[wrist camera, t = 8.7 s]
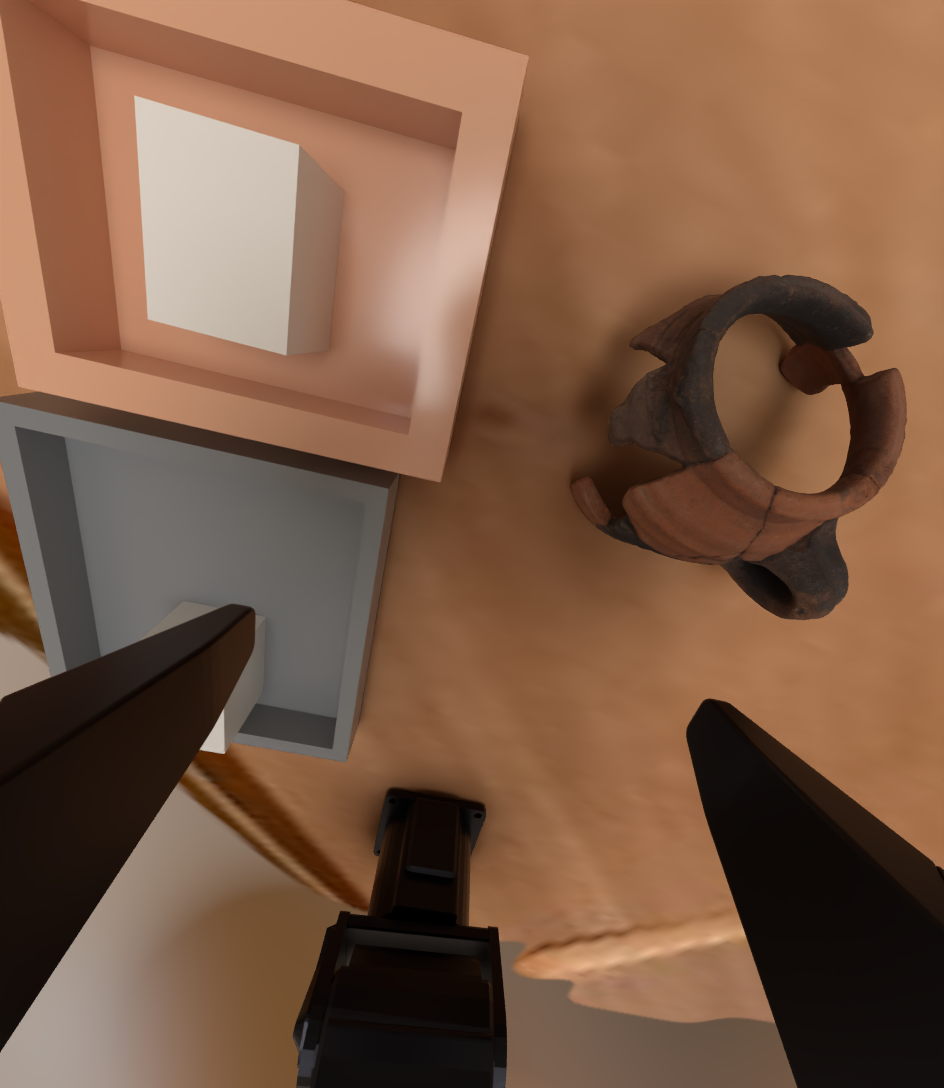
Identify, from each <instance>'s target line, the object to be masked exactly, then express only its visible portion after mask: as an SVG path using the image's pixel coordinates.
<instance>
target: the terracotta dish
mask: <svg viewBox="0 0 944 1088" xmlns="http://www.w3.org/2000/svg"><path fill="white" fill-rule="evenodd" d="M528 58H529V56H527V55H523V54H520V53H517V52H514V51H510V50H507V49H504V48H501V47H497V46H494V45H491V44H488V43H484V42H481V41H478V40H474V39H471V38H468V37H465V36H461V35H458V34H455V33H452V32H448V31H445V30H442V29H438V28H435V27H432V26H429V25H425V24H422V23H419V22H416V21H412V20H409V19H406V18H402V17H399V16H396V15H393V14H389V13H386V12H383V11H380V10H376V9H373V8H370V7H366V6H363V5H360V4H357V3H353V2H350V1H347V0H0V298H1V303H2V308H3V313H4V318H5V323H6V328H7V333H8V338H9V343H10V348H11V353H12V358H13V363H14V368H15V373H16V378H17V383H18V387H22V388H26V389H31V390H35V391H40V392H44V393H48V394H53V395H57V396H61V397H66V398H70V399H75V400H79V401H83V402H88V403H92V404H97V405H101V406H105V407H110V408H114V409H119V410H123V411H127V412H132V413H136V414H141V415H145V416H149V417H154V418H158V419H163V420H167V421H171V422H176V423H180V424H185V425H189V426H193V427H198V428H202V429H207V430H211V431H215V432H220V433H224V434H229V435H233V436H237V437H242V438H246V439H251V440H255V441H259V442H264V443H268V444H273V445H277V446H281V447H286V448H290V449H295V450H299V451H303V452H308V453H312V454H317V455H321V456H325V457H330V458H334V459H339V460H343V461H347V462H352V463H356V464H361V465H365V466H369V467H374V468H378V469H383V470H387V471H391V472H396V473H400V474H405V475H409V476H413V477H418V478H422V479H427V480H431V481H435V482H441V479H442V476H443V472H444V469H445V465H446V462H447V458H448V454H449V449H450V444H451V439H452V434H453V430H454V425H455V420H456V415H457V411H458V406H459V401H460V396H461V391H462V387H463V382H464V377H465V372H466V368H467V363H468V358H469V353H470V348H471V344H472V339H473V334H474V329H475V325H476V320H477V315H478V310H479V305H480V301H481V296H482V291H483V286H484V282H485V277H486V272H487V267H488V262H489V258H490V253H491V248H492V243H493V238H494V234H495V229H496V224H497V219H498V215H499V210H500V205H501V200H502V195H503V191H504V186H505V181H506V176H507V172H508V167H509V162H510V157H511V152H512V148H513V143H514V138H515V133H516V129H517V124H518V119H519V113H520V107H521V101H522V95H523V89H524V83H525V76H526V70H527V64H528ZM134 95H135V96H138V97H141V98H145V99H148V100H151V101H155V102H158V103H161V104H165V105H168V106H171V107H175V108H178V109H181V110H185V111H188V112H191V113H195V114H198V115H201V116H205V117H208V118H211V119H215V120H218V121H221V122H225V123H228V124H231V125H235V126H238V127H241V128H245V129H248V130H251V131H255V132H258V133H261V134H265V135H268V136H271V137H275V138H278V139H281V140H285V141H288V142H291V143H295V144H298V145H300V146H301V147H302V148H303V149H304V150H305V151H306V152H307V153H308V154H309V155H310V156H311V157H312V158H313V159H314V161H315V162H316V163H317V164H318V165H319V166H320V167H321V168H322V169H323V170H324V171H325V172H326V173H327V174H328V175H329V176H330V177H331V178H332V179H333V180H334V181H335V182H336V183H337V184H338V185H339V186H340V187H341V188H342V189H343V190H344V191H345V192H344V202H343V212H342V222H341V232H340V242H339V252H338V262H337V273H336V283H335V293H334V303H333V313H332V323H331V333H330V343H329V351H323V352H314V353H305V354H295V355H283V354H279V353H275V352H271V351H267V350H263V349H260V348H256V347H252V346H248V345H244V344H240V343H237V342H233V341H229V340H225V339H221V338H217V337H214V336H210V335H206V334H202V333H198V332H194V331H191V330H187V329H183V328H179V327H175V326H171V325H168V324H164V323H160V322H156V321H152V320H148V314H147V298H146V281H145V265H144V248H143V232H142V215H141V199H140V183H139V166H138V150H137V133H136V117H135V100H134Z"/></svg>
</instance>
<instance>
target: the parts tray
mask: <svg viewBox="0 0 944 1088" xmlns="http://www.w3.org/2000/svg"><path fill="white" fill-rule="evenodd" d="M0 460H1V464H2V468H3V473H4V477H5V481H6V486H7V490H8V494H9V499H10V503H11V507H12V511H13V516H14V520H15V524H16V529H17V533H18V537H19V541H20V546H21V550H22V554H23V559H24V563H25V567H26V572H27V576H28V580H29V584H30V589H31V593H32V597H33V602H34V606H35V610H36V615H37V619H38V623H39V627H40V632H41V636H42V640H43V645H44V649H45V653H46V657H47V662H48V666H49V670H50V675H51V677H53V676H55V675H58V674H60V673H63V672H65V671H68V670H70V669H72V668H75V667H77V666H80V665H82V664H85V663H87V662H89V661H92V660H94V659H97V658H99V657H102V656H104V655H106V654H109V653H111V652H114V651H116V650H119V649H121V648H123V647H126V646H128V645H131V644H133V643H136V642H138V641H139V640H140V639H141V638H143V637H144V636H145V635H146V634H147V633H148V632H149V631H150V630H152V629H153V628H154V627H155V626H156V625H157V624H158V623H159V622H161V621H162V620H163V619H164V618H165V617H166V616H167V615H168V614H170V613H171V612H172V611H173V610H174V609H175V608H176V607H177V606H179V605H180V604H181V603H182V602H183V601H187V602H192V603H197V604H202V605H207V606H212V607H217V608H221V607H223V606H226V605H228V604H232V603H234V604H240V605H245V606H250V607H252V608H253V609H254V610H255V613H256V615H258V616H263V617H266V626H265V655H264V683H263V692H262V694H261V696H260V697H259V699H258V701H257V702H256V704H255V705H254V707H253V709H252V710H251V712H250V714H249V715H248V717H247V718H246V720H245V722H244V723H243V725H242V727H241V728H240V730H239V731H238V733H237V735H236V736H235V738H234V740H233V741H232V742H233V743H239V744H244V745H250V746H256V747H261V748H267V749H273V750H278V751H284V752H290V753H295V754H301V755H307V756H312V757H318V758H324V759H329V760H335V761H341V762H347V758H348V755H349V752H350V749H351V746H352V743H353V740H354V737H355V733H356V730H357V727H358V724H359V718H360V712H361V706H362V700H363V694H364V688H365V682H366V676H367V670H368V664H369V658H370V652H371V645H372V639H373V633H374V627H375V621H376V615H377V609H378V603H379V597H380V591H381V585H382V579H383V573H384V566H385V560H386V554H387V548H388V542H389V536H390V530H391V524H392V518H393V512H394V506H395V500H396V493H397V487H398V481H399V475H400V473H396V472H391V471H387V470H383V469H378V468H374V467H369V466H365V465H361V464H356V463H352V462H347V461H343V460H339V459H334V458H330V457H325V456H321V455H317V454H312V453H308V452H303V451H299V450H295V449H290V448H286V447H281V446H277V445H273V444H268V443H264V442H259V441H255V440H251V439H246V438H242V437H237V436H233V435H229V434H224V433H220V432H215V431H211V430H207V429H202V428H198V427H193V426H189V425H185V424H180V423H176V422H171V421H167V420H163V419H158V418H154V417H149V416H145V415H141V414H136V413H132V412H127V411H123V410H119V409H114V408H110V407H105V406H101V405H97V404H92V403H88V402H83V401H79V400H75V399H70V398H66V397H61V396H57V395H53V394H48V393H44V392H34V393H26V394H18V395H11V396H3V397H0Z"/></svg>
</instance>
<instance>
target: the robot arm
mask: <svg viewBox="0 0 944 1088" xmlns="http://www.w3.org/2000/svg"><path fill="white" fill-rule="evenodd" d="M255 624H256V613H255V610H254V609H253V608H252V607H250V606H245V605H240V604H234V603H232V604H228V605H226V606H223V607H221V608H218V609H216V610H213V611H211V612H209V613H206V614H204V615H201V616H199V617H196V618H194V619H192V620H189V621H187V622H184V623H182V624H179V625H177V626H175V627H172V628H170V629H167V630H165V631H162V632H160V633H157V634H155V635H153V636H150V637H148V638H145V639H143V640H140V641H138V642H136V643H133V644H131V645H128V646H126V647H123V648H121V649H119V650H116V651H114V652H111V653H109V654H106V655H104V656H102V657H99V658H97V659H94V660H92V661H89V662H87V663H85V664H82V665H80V666H77V667H75V668H72V669H70V670H68V671H65V672H63V673H60V674H58V675H55V676H53V677H51V678H48V679H46V680H43V681H41V682H38V683H36V684H34V685H31V686H29V687H26V688H24V689H21V690H19V691H17V692H14V693H12V694H9V695H7V696H5V697H3V698H2V699H1V701H0V1052H1V1050H2V1049H3V1047H4V1046H5V1044H6V1043H7V1041H8V1040H9V1038H10V1037H11V1035H12V1034H13V1032H14V1031H15V1029H16V1027H17V1026H18V1025H19V1023H20V1021H21V1020H22V1018H23V1017H24V1015H25V1014H26V1012H27V1011H28V1009H29V1008H30V1006H31V1005H32V1003H33V1002H34V1000H35V999H36V997H37V996H38V994H39V993H40V991H41V990H42V988H43V987H44V985H45V984H46V982H47V981H48V979H49V977H50V976H51V974H52V973H53V971H54V970H55V968H56V967H57V965H58V963H59V962H60V961H61V959H62V958H63V956H64V955H65V953H66V951H67V950H68V949H69V947H70V945H71V944H72V943H73V941H74V940H75V938H76V937H77V935H78V933H79V932H80V930H81V929H82V927H83V926H84V924H85V923H86V921H87V920H88V918H89V917H90V915H91V914H92V912H93V911H94V909H95V908H96V906H97V905H98V903H99V902H100V900H101V898H102V897H103V896H104V894H105V893H106V891H107V889H108V888H109V886H110V885H111V883H112V882H113V880H114V879H115V877H116V876H117V874H118V873H119V871H120V870H121V868H122V867H123V865H124V864H125V862H126V861H127V859H128V858H129V856H130V855H131V853H132V852H133V850H134V849H135V847H136V845H137V844H138V842H139V841H140V839H141V838H142V836H143V835H144V833H145V832H146V830H147V829H148V827H149V826H150V824H151V823H152V821H153V820H154V818H155V817H156V815H157V813H158V812H159V811H160V809H161V807H162V806H163V805H164V803H165V801H166V800H167V798H168V797H169V795H170V794H171V792H172V791H173V789H174V788H175V786H176V785H177V783H178V782H179V780H180V779H181V777H182V776H183V774H184V773H185V771H186V770H187V768H188V767H189V765H190V764H191V762H192V761H193V759H194V757H195V756H196V754H197V753H198V751H199V750H200V748H201V747H202V745H203V744H204V742H205V741H206V739H207V738H208V736H209V734H210V733H211V731H212V730H213V728H214V726H215V724H216V723H217V721H218V719H219V717H220V715H221V713H222V711H223V709H224V707H225V706H226V704H227V702H228V700H229V698H230V696H231V694H232V692H233V690H234V688H235V686H236V684H237V682H238V680H239V678H240V676H241V674H242V672H243V670H244V668H245V667H246V665H247V663H248V661H249V659H250V657H251V655H252V652H253V649H254V645H255ZM686 738H687V743H688V747H689V751H690V755H691V759H692V764H693V768H694V772H695V776H696V780H697V784H698V789H699V793H700V797H701V801H702V805H703V809H704V812H705V816H706V819H707V822H708V826H709V829H710V832H711V835H712V838H713V840H714V843H715V846H716V849H717V852H718V855H719V858H720V861H721V864H722V867H723V870H724V873H725V876H726V879H727V882H728V885H729V888H730V891H731V893H732V896H733V899H734V902H735V905H736V908H737V911H738V914H739V917H740V920H741V923H742V926H743V929H744V932H745V935H746V938H747V941H748V944H749V946H750V949H751V952H752V955H753V958H754V961H755V964H756V967H757V970H758V973H759V976H760V979H761V982H762V985H763V988H764V991H765V994H766V997H767V999H768V1002H769V1005H770V1008H771V1011H772V1014H773V1017H774V1020H775V1023H776V1026H777V1029H778V1032H779V1035H780V1038H781V1040H782V1044H783V1047H784V1050H785V1052H786V1055H787V1058H788V1061H789V1064H790V1067H791V1070H792V1073H793V1076H794V1079H795V1082H796V1085H797V1088H944V870H943V869H942V868H941V867H939V866H935V864H934V863H933V861H931V860H930V859H929V858H928V857H926V856H925V855H924V854H922V853H921V852H920V851H919V850H917V849H916V848H915V847H913V846H912V845H911V844H910V843H908V842H907V841H906V840H904V839H903V838H902V837H901V836H899V835H898V834H897V833H895V832H894V831H893V830H892V829H890V828H889V827H888V826H886V825H885V824H884V823H883V822H881V821H880V820H879V819H877V818H876V817H875V816H874V815H872V814H871V813H870V812H869V811H867V810H866V809H865V808H863V807H862V806H861V805H860V804H858V803H857V802H856V801H854V800H853V799H852V798H851V797H849V796H848V795H847V794H845V793H844V792H843V791H842V790H840V789H839V788H838V787H836V786H835V785H834V784H833V783H831V782H830V781H829V780H827V779H826V778H825V777H824V776H822V775H821V774H820V773H818V772H817V771H816V770H815V769H813V768H812V767H811V766H809V765H808V764H807V763H806V762H804V761H803V760H802V759H800V758H799V757H798V756H797V755H795V754H794V753H793V752H791V751H790V750H789V749H788V748H786V747H785V746H784V745H782V744H781V743H780V742H779V741H777V740H776V739H775V738H773V737H772V736H771V735H770V734H768V733H767V732H766V731H764V730H763V729H762V728H761V727H759V726H758V725H757V724H755V723H754V722H753V721H752V720H750V719H749V718H748V717H746V716H745V715H744V714H743V713H741V712H740V711H739V710H737V709H736V708H735V707H734V706H732V705H731V704H730V703H728V702H725V701H720V700H715V699H706V700H704V701H703V702H702V703H701V705H700V706H699V708H698V710H697V711H696V713H695V715H694V716H693V718H692V720H691V721H690V723H689V725H688V727H687V731H686ZM485 817H486V809H485V807H484V806H482V805H478V804H472V803H467V802H461V801H455V800H449V799H443V798H438V797H432V796H426V795H420V794H415V793H409V792H403V791H397V790H390V791H388V792H387V793H386V797H385V801H384V806H383V810H382V815H381V819H380V824H379V828H378V833H377V837H376V842H375V846H374V851H373V852H374V854H375V855H376V856H379V860H378V865H377V870H376V875H375V880H374V885H373V890H372V895H371V900H370V905H369V910H368V915H367V916H366V915H356V914H350V912H348V911H340V914H339V917H338V920H337V923H336V924H335V925H333V926H330V927H328V928H327V930H326V934H325V938H324V941H323V946H322V949H321V953H320V956H319V960H318V963H317V967H316V970H315V972H314V975H313V978H312V981H311V983H310V986H309V989H308V991H307V994H306V997H305V1000H304V1002H303V1005H302V1007H301V1010H300V1013H299V1015H298V1018H297V1021H296V1024H295V1028H294V1032H293V1040H294V1042H295V1045H296V1047H297V1050H298V1052H299V1056H298V1064H297V1066H298V1068H299V1071H298V1077H297V1087H296V1088H505V1084H506V1066H507V1027H506V1011H505V1000H504V989H503V978H502V966H501V956H500V944H499V933H498V927H491V926H488V928H480V927H471V926H469V894H470V856H471V854H472V851H473V849H474V846H475V843H476V841H477V838H478V835H479V833H480V830H481V828H482V825H483V822H484V820H485Z"/></svg>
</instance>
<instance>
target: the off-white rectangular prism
mask: <svg viewBox="0 0 944 1088" xmlns="http://www.w3.org/2000/svg"><path fill="white" fill-rule="evenodd" d="M216 609H218V608H217V607H212V606H207V605H202V604H197V603H192V602H187V601H183V602H182V603H181V604H180V605H179V606H177V607H176V608H175V609H174V610H173V611H172V612H171V613H170V614H168V615H167V616H166V617H165V618H164V619H163V620H162V621H161V622H159V623H158V624H157V625H156V626H155V627H154V628H153V629H152V630H150V631H149V632H148V633H147V634H146V635H145V636H144V637H143V638H141V639H140V640H143V639H145V638H148V637H150V636H153V635H155V634H157V633H160V632H162V631H165V630H167V629H170V628H172V627H175V626H177V625H179V624H182V623H184V622H187V621H189V620H192V619H194V618H196V617H199V616H201V615H204V614H206V613H209V612H211V611H213V610H216ZM265 626H266V617H263V616H258V615H256V624H255V645H254V649H253V652H252V655H251V657H250V659H249V661H248V663H247V665H246V667H245V668H244V670H243V672H242V674H241V676H240V678H239V680H238V682H237V684H236V686H235V688H234V690H233V692H232V694H231V696H230V698H229V700H228V702H227V704H226V706H225V707H224V709H223V711H222V713H221V715H220V717H219V719H218V721H217V723H216V724H215V726H214V728H213V730H212V731H211V733H210V734H209V736H208V738H207V739H206V741H205V742H204V744H203V745H202V747H201V748H200V750H205V751H211V752H216V753H222V754H225V752H226V751H227V749H228V748H229V746H230V744H231V743H232V741H233V740H234V738H235V736H236V735H237V733H238V731H239V730H240V728H241V727H242V725H243V723H244V722H245V720H246V718H247V717H248V715H249V714H250V712H251V710H252V709H253V707H254V705H255V704H256V702H257V701H258V699H259V697H260V696H261V694H262V692H263V683H264V655H265ZM140 640H139V641H140Z"/></svg>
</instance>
